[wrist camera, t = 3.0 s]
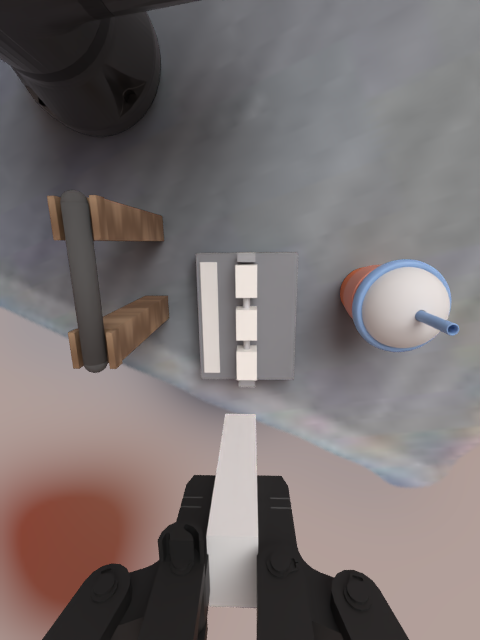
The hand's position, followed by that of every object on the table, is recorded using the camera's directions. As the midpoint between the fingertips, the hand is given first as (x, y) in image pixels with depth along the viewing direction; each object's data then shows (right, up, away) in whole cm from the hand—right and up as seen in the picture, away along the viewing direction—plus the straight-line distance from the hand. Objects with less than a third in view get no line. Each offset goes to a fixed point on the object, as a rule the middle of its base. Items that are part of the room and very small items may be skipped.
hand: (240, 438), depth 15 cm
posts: (-11, +13, +24) cm, 30 cm away
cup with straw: (+16, +10, +24) cm, 31 cm away
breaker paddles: (+1, +6, +22) cm, 23 cm away
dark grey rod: (-12, +9, +9) cm, 17 cm away
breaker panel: (+1, +7, +25) cm, 26 cm away
